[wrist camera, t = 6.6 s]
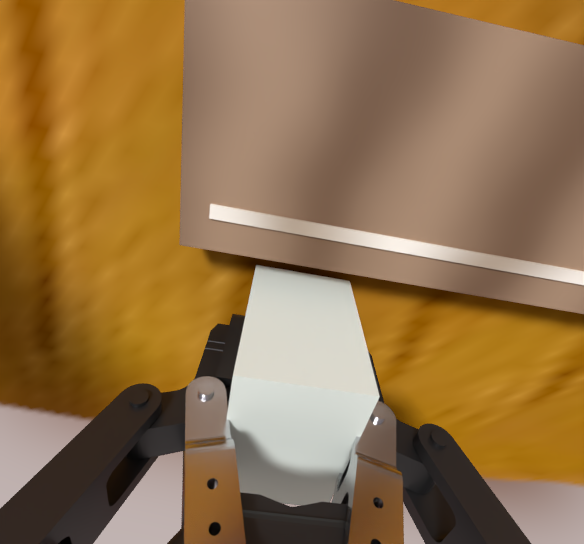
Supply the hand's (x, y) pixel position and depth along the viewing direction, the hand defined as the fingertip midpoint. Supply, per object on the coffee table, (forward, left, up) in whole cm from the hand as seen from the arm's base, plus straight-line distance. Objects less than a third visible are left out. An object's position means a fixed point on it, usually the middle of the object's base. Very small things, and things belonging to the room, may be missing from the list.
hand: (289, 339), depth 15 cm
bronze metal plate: (+3, +10, -1) cm, 10 cm away
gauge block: (0, 0, -1) cm, 1 cm away
